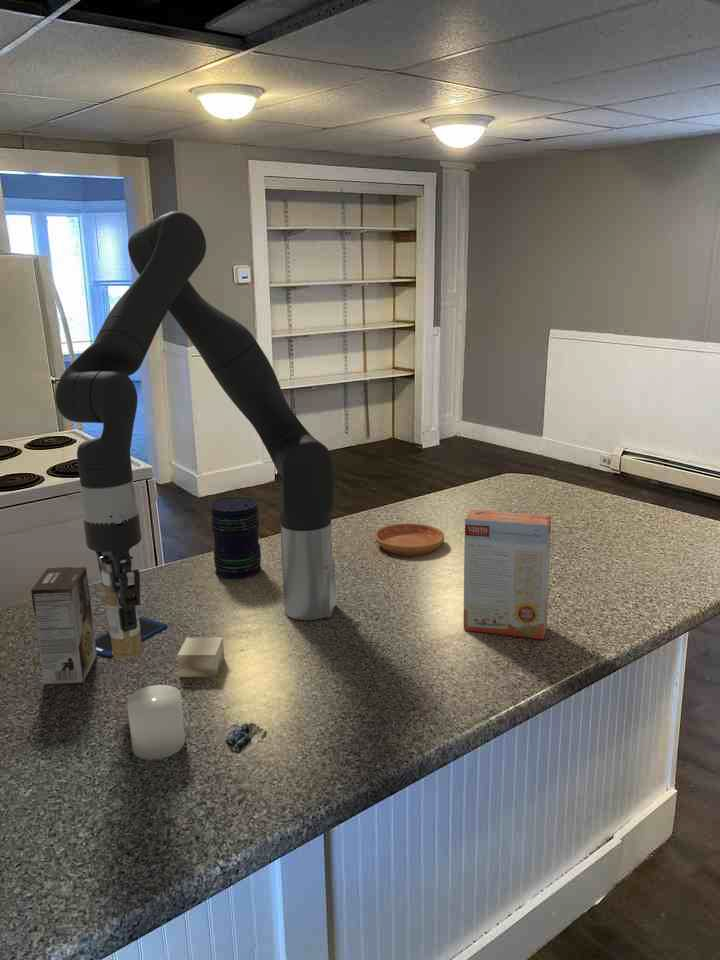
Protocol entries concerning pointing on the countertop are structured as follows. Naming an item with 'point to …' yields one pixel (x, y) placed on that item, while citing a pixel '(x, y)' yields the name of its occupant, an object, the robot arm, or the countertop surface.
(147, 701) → the cream canister
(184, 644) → the maple block
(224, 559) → the storage jar
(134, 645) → the sprinkles bottle
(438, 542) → the saucer
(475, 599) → the cracker box
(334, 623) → the countertop surface
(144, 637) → the cell phone
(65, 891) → the countertop surface
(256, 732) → the blueberries
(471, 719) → the countertop surface
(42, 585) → the coffee box
